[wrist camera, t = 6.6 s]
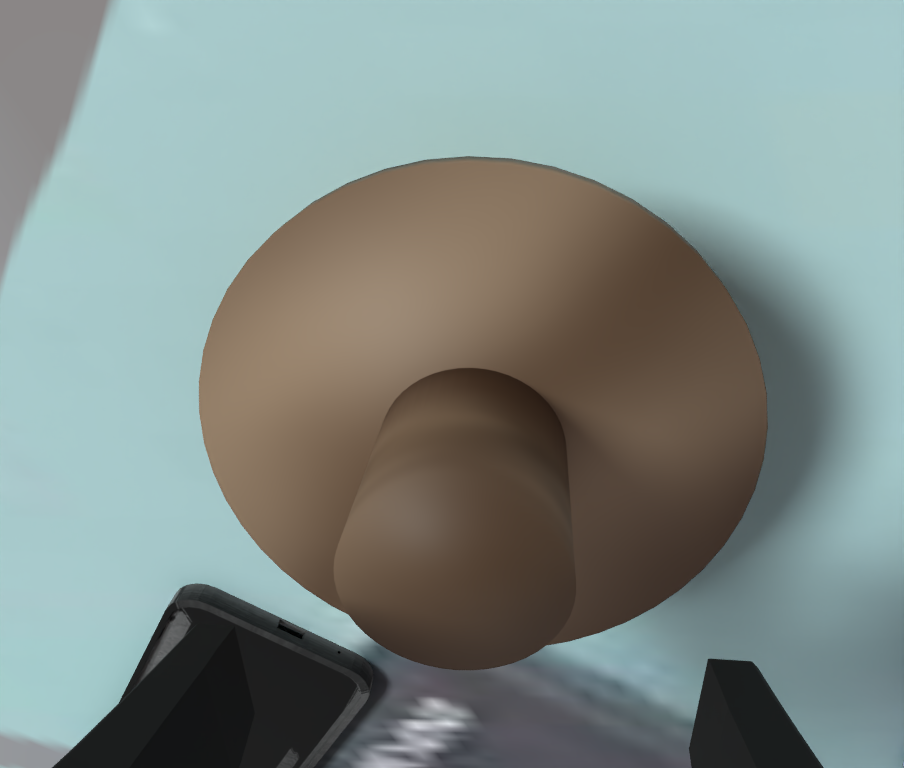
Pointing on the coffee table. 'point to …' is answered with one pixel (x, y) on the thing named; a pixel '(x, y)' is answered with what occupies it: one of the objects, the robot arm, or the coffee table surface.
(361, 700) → the phone
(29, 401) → the coffee table surface
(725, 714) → the robot arm
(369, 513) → the walnut lid
